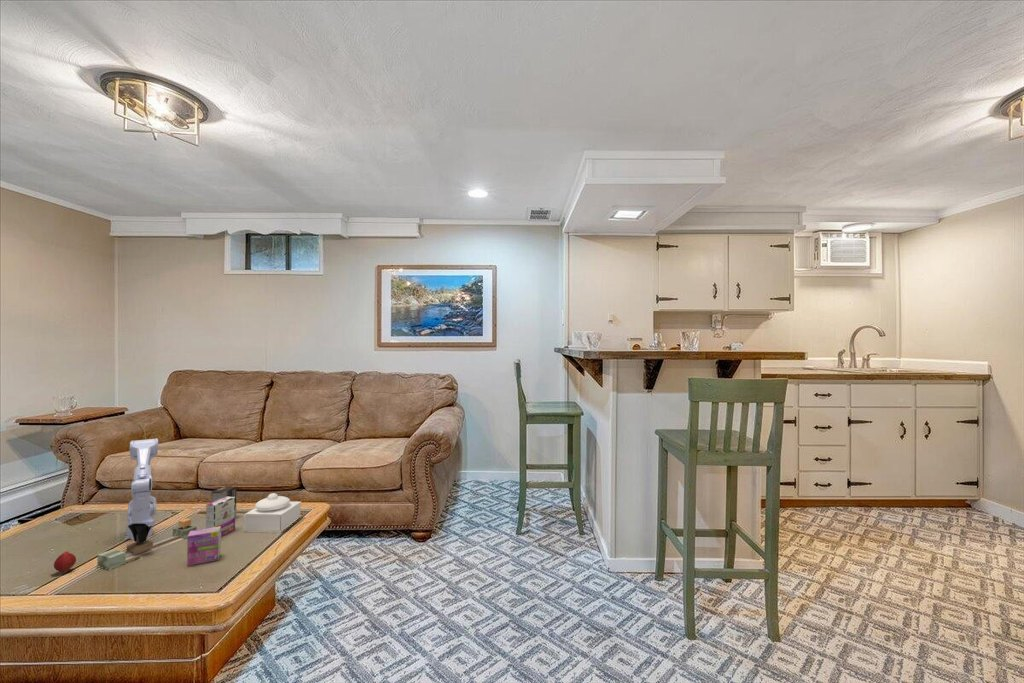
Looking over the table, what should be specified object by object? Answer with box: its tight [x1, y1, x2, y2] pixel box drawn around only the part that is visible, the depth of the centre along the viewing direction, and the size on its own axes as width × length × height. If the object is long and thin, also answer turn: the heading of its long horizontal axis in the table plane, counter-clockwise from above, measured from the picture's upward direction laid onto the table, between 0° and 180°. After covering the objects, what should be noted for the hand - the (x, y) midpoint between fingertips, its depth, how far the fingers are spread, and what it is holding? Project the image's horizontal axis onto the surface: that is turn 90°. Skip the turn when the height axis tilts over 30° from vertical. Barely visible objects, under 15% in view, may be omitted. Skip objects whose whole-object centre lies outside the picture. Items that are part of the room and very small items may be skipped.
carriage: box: [126, 534, 154, 554], centre depth 177 cm, size 6×6×6 cm
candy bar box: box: [205, 496, 236, 538], centre depth 195 cm, size 11×5×16 cm, turn 168°
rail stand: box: [96, 525, 198, 570], centre depth 181 cm, size 8×32×4 cm, turn 160°
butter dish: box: [243, 492, 302, 533], centre depth 208 cm, size 18×18×16 cm
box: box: [186, 526, 222, 567], centre depth 172 cm, size 10×6×12 cm, turn 117°
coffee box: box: [211, 485, 237, 519], centre depth 213 cm, size 9×6×16 cm
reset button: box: [178, 518, 192, 530], centre depth 193 cm, size 3×3×4 cm
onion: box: [53, 550, 77, 573], centre depth 163 cm, size 6×6×8 cm
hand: (140, 541), depth 177 cm, fingers closed on carriage, 2 cm apart
